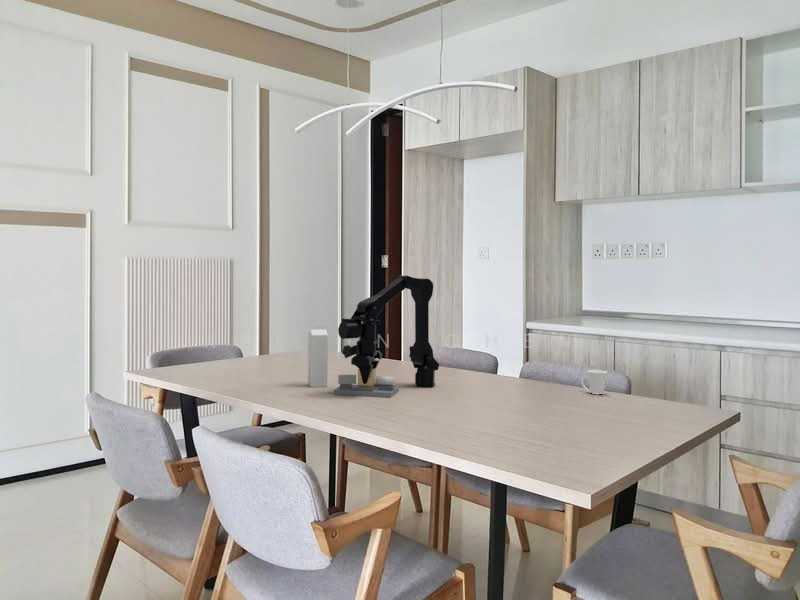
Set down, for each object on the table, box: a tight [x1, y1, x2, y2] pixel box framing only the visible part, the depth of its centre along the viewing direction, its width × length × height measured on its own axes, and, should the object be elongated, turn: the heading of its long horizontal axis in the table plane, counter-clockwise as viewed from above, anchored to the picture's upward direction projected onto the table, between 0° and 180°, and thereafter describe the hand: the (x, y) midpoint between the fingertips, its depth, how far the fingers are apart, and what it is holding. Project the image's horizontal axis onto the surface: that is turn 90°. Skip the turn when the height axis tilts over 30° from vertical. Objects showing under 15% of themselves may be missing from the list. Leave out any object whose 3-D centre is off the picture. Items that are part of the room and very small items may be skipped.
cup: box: [580, 369, 609, 395], centre depth 228 cm, size 7×10×8 cm
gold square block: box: [357, 368, 377, 388], centre depth 222 cm, size 5×5×6 cm
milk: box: [307, 325, 329, 388], centre depth 234 cm, size 6×6×22 cm
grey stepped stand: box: [333, 374, 400, 399], centre depth 222 cm, size 20×12×6 cm, turn 77°
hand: (366, 382), depth 222 cm, fingers closed on gold square block, 5 cm apart
